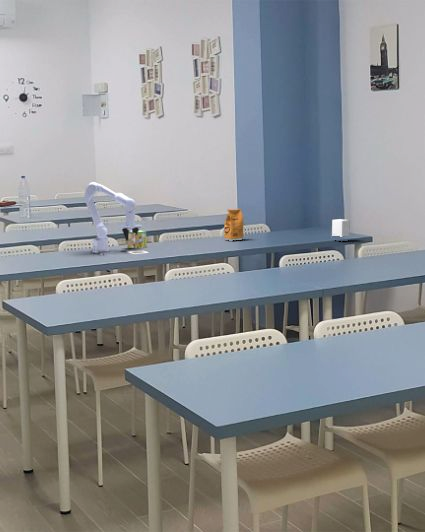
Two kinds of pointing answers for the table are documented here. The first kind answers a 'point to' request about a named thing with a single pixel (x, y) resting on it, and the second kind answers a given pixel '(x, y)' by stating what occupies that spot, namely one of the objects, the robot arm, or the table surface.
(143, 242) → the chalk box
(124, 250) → the rail plate
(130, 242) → the beech block
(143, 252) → the parts tray
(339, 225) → the supplement box
